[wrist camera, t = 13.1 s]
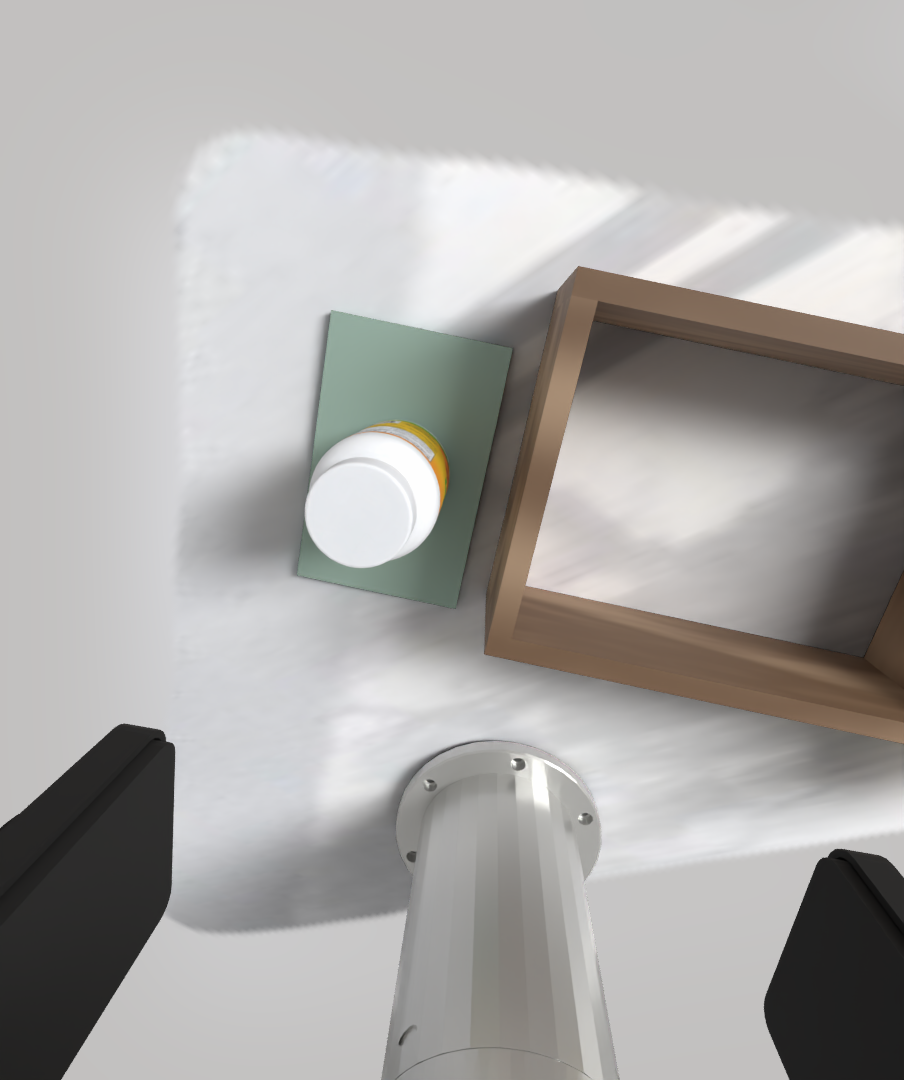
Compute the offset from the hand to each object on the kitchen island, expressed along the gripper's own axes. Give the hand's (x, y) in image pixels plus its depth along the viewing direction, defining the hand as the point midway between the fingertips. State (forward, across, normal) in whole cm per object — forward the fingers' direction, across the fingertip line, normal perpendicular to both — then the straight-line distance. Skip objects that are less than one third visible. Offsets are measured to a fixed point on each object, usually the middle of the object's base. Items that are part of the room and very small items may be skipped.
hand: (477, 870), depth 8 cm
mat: (+24, +5, -2) cm, 24 cm away
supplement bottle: (+23, +5, -2) cm, 24 cm away
